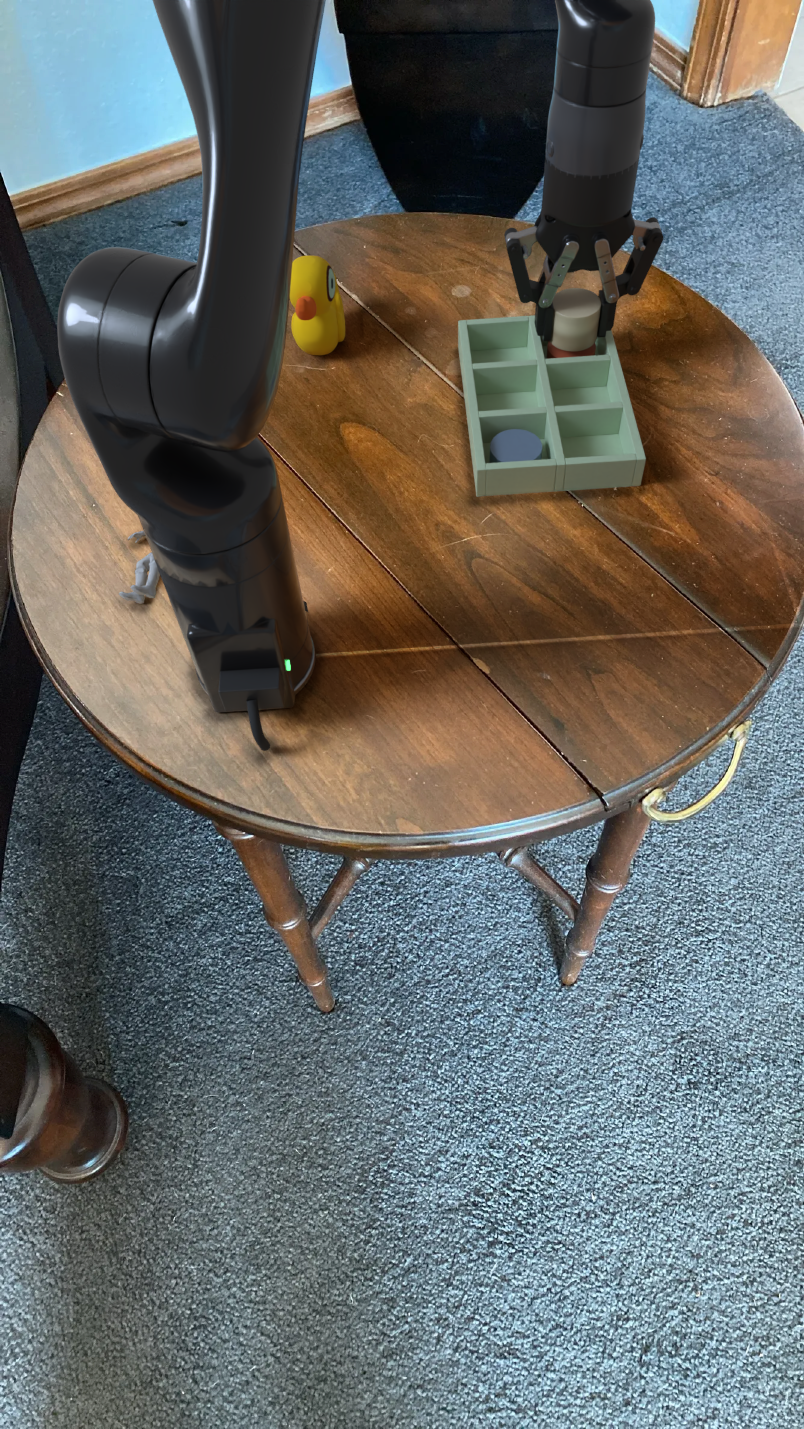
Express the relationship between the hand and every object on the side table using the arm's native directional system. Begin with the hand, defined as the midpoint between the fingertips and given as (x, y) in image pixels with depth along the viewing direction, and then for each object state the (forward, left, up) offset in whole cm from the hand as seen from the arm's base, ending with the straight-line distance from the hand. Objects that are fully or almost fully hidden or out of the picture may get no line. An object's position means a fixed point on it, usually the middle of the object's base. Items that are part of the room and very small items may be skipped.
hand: (572, 333), depth 92 cm
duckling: (+6, +24, -4) cm, 25 cm away
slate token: (-14, +7, -3) cm, 16 cm away
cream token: (0, 0, 0) cm, 0 cm away
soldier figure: (-22, +37, -4) cm, 43 cm away
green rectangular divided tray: (-7, +3, -4) cm, 9 cm away
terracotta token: (0, 0, -3) cm, 3 cm away
